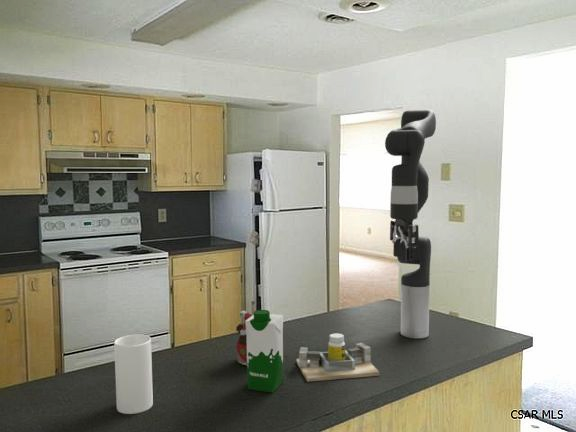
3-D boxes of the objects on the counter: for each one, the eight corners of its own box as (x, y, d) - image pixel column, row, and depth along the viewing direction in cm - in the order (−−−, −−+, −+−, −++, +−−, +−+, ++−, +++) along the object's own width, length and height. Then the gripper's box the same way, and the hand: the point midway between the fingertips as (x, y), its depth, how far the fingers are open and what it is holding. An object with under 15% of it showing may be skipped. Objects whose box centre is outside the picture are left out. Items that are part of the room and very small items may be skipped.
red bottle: (277, 358, 148) (276, 299, 147) (262, 370, 140) (261, 306, 138) (245, 353, 153) (245, 295, 151) (229, 364, 144) (228, 303, 143)
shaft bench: (295, 362, 146) (294, 345, 145) (363, 356, 149) (363, 340, 149) (305, 381, 132) (305, 363, 131) (380, 375, 136) (381, 357, 135)
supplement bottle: (344, 368, 138) (344, 338, 137) (327, 367, 139) (327, 337, 138) (345, 362, 143) (345, 333, 142) (329, 361, 143) (329, 332, 143)
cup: (121, 398, 123) (119, 334, 121) (155, 397, 124) (153, 333, 122) (112, 414, 115) (110, 346, 113) (149, 413, 115) (147, 345, 114)
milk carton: (242, 390, 127) (241, 312, 125) (256, 376, 136) (255, 303, 134) (275, 395, 124) (274, 316, 122) (287, 380, 133) (286, 306, 131)
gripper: (428, 203, 135) (427, 262, 136) (406, 200, 149) (405, 254, 150) (401, 203, 134) (401, 264, 135) (382, 200, 148) (381, 255, 149)
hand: (403, 258), depth 143 cm, fingers open, 8 cm apart
